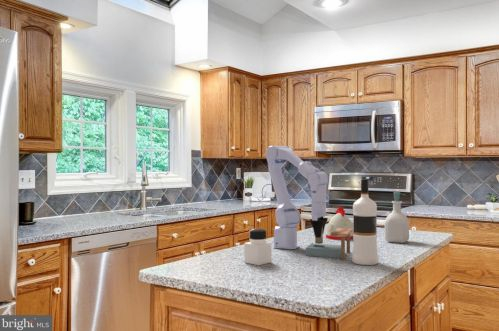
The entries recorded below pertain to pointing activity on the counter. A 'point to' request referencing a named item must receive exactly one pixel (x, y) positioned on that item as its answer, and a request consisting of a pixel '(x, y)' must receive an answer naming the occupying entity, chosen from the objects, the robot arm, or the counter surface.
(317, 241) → the birch peg
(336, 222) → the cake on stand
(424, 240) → the counter surface
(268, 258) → the medicine bottle
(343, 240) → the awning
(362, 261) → the vodka
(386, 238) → the soap bottle
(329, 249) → the socket block
